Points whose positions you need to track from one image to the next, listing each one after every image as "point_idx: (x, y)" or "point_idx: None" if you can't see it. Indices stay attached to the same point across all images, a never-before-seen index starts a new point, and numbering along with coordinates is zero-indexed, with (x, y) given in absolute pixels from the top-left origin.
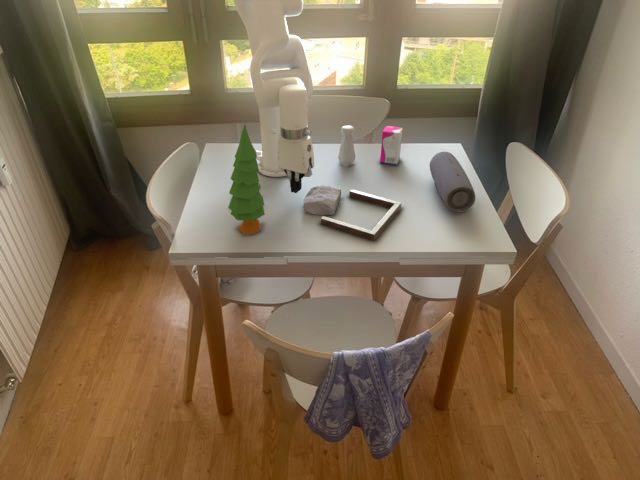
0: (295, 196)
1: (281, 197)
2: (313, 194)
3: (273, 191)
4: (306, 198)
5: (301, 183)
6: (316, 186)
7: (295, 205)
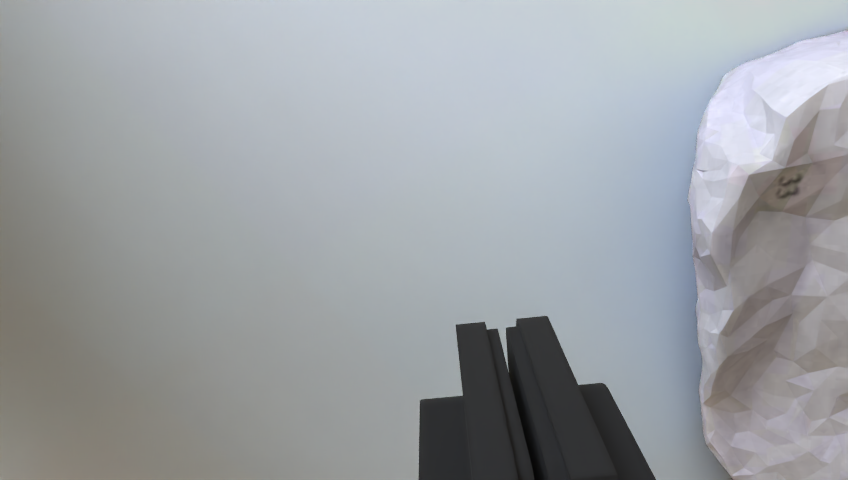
0: (455, 300)
1: (328, 412)
2: (843, 360)
3: (137, 364)
4: (758, 453)
5: (631, 435)
6: (797, 128)
7: None
